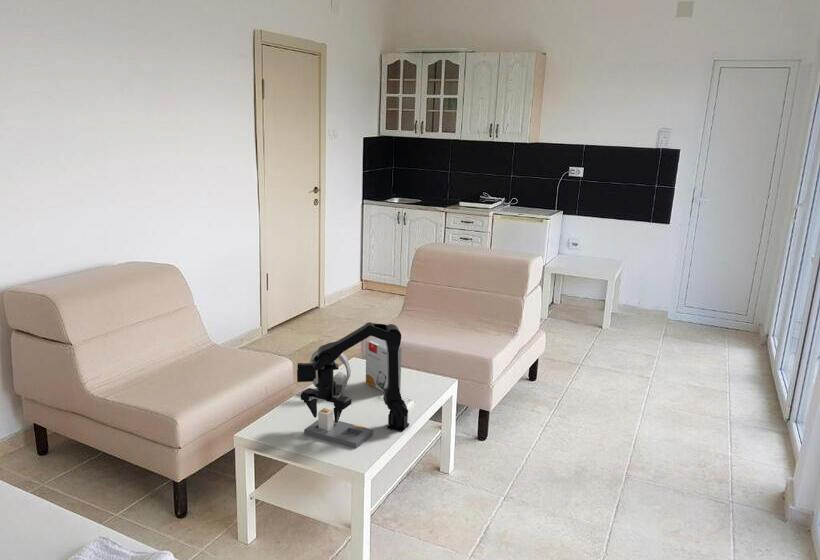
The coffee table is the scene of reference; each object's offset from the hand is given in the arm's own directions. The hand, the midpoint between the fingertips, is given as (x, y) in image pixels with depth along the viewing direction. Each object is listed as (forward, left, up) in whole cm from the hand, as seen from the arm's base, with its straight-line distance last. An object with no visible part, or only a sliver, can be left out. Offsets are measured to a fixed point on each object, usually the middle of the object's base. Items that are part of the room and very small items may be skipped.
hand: (325, 419), depth 237 cm
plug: (0, 0, -4) cm, 5 cm away
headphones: (+18, -31, -5) cm, 36 cm away
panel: (-5, 0, -4) cm, 7 cm away
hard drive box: (+1, -47, -5) cm, 47 cm away
